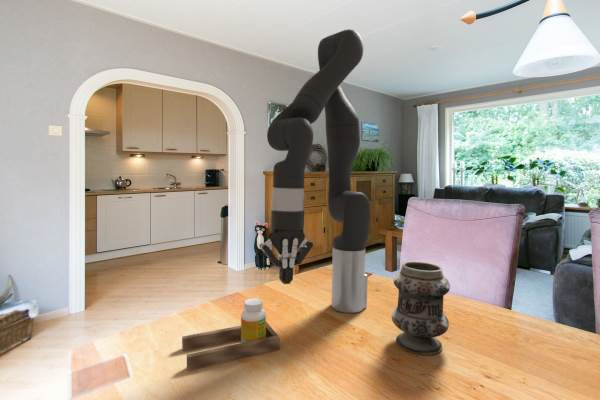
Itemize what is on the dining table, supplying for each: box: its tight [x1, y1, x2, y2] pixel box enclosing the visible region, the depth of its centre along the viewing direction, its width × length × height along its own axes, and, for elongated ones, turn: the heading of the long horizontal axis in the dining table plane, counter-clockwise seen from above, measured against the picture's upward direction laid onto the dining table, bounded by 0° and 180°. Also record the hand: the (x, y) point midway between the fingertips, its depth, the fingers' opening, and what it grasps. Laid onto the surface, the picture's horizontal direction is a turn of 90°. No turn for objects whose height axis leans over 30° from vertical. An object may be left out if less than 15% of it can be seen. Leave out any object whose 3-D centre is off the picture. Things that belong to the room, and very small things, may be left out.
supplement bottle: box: [240, 297, 267, 343], centre depth 73 cm, size 5×5×10 cm
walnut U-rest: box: [181, 321, 281, 372], centre depth 71 cm, size 19×9×3 cm, turn 116°
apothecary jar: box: [391, 260, 451, 356], centre depth 74 cm, size 12×12×18 cm
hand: (285, 282), depth 76 cm, fingers closed
